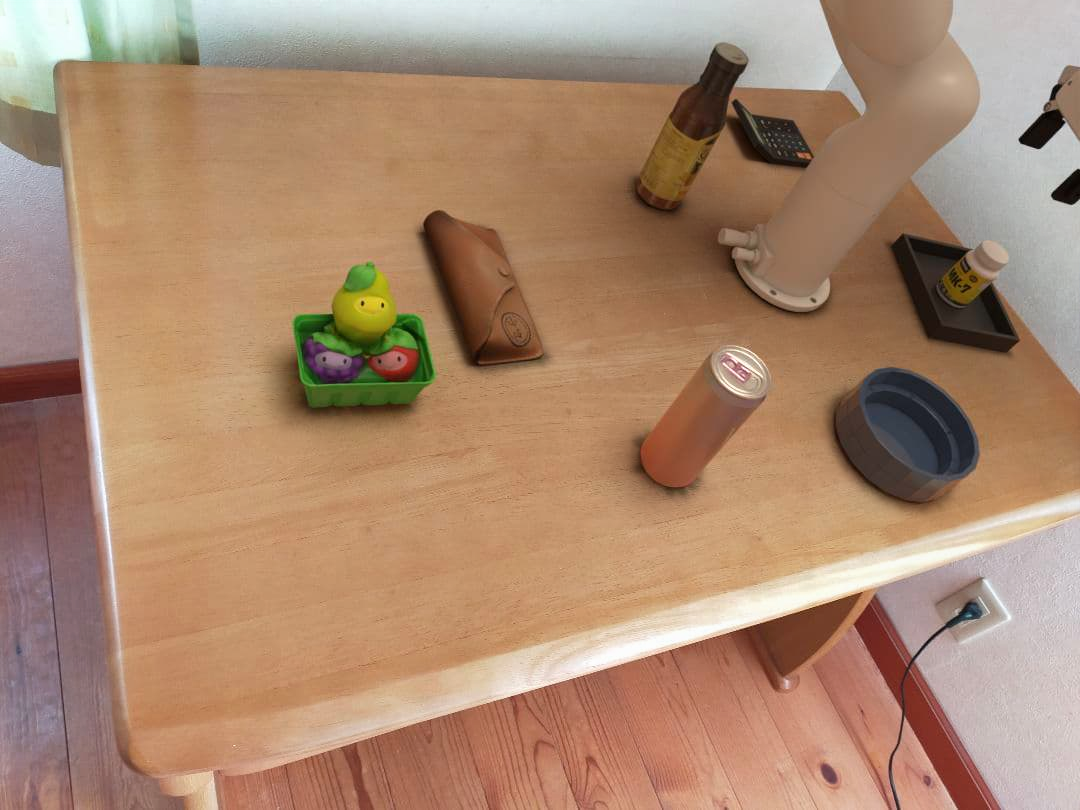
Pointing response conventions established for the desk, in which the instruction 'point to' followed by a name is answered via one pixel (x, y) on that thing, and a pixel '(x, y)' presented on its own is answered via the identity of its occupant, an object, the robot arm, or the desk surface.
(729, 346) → the beverage can
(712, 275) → the desk surface
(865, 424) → the bowl
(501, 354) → the sunglasses case
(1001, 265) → the supplement bottle
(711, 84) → the sauce bottle
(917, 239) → the tray
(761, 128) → the calculator
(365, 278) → the fruit basket
